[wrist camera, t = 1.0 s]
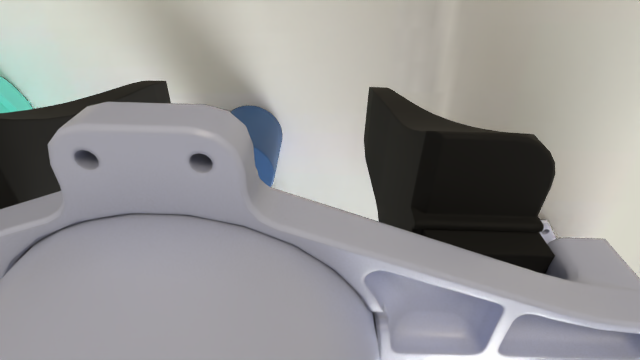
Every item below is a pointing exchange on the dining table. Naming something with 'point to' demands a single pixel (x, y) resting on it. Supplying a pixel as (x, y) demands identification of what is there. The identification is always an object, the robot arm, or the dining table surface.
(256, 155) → the blue bottle
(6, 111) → the decorative dice
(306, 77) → the dining table surface
